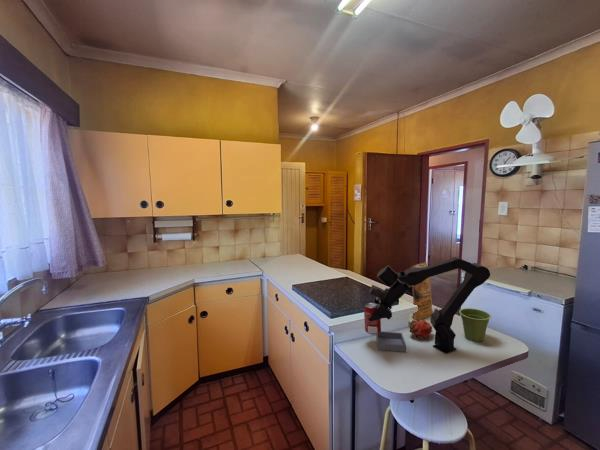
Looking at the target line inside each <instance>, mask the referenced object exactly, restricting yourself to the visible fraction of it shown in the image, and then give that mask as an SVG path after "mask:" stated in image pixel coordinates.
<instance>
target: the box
mask: <svg viewBox="0 0 600 450" xmlns="http://www.w3.org/2000/svg"><path fill="white" fill-rule="evenodd" d="M375 337H376V346H377V351H378V352H390V353H391V352H392V353H404V354H406V353H407V344H406V341H405V338H404V335H403V333H402V332H392V331H381V332H380V333H379V334H376V335H375Z"/></svg>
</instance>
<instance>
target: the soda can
mask: <svg viewBox="0 0 600 450" xmlns="http://www.w3.org/2000/svg"><path fill="white" fill-rule="evenodd" d="M377 305H378V304H375V303H374V302H368V303H366V304H365V306H364V309H363V314H364V331H365V332H366V333H367V334H369V335H372V336H376V334H379V333H380V332H382V328H381V327H382V324H381V323H382V321H381V320H382V319H378V320H375V321H371V322H370V321H369V318H370V317H371V316H372V314H373V313H374V312H375V310H376V306H377Z"/></svg>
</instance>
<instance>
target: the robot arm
mask: <svg viewBox="0 0 600 450" xmlns="http://www.w3.org/2000/svg"><path fill="white" fill-rule="evenodd" d="M457 269H459V270H461V271H463V272H465V273H464V276H463V280H462V282H461V284H460V285H459V286H458V287H457V288H456V290H455V291H454V292H453V294H452V295H451V297H450V298H449V299H448V301H447V302H446V303H445V305H444V306H443V307H442V308H441V309H438V308H434V311H433V314H431V315H430V316H429V317H430V319H429V321H430V322H429V323H430V325H431V326H432V328H433V329H434V330H435V333H434V344H433V345H432V347H433V348H435V349H436V350H437V351H440V352H441V353H444V354H446V355H447V354H450V353H452V352H455V351H457V348H456V347H455V338H456V336H457V334H456V333H455V331H454V330H453V329H452V328H451V327H452V324H453V320H454V317H455V315H456V314H457V312H458V311H460V308H461V307H462V306H463V305H464V303H465V302H466V301H467V299H468V298H469V296H471V294H472V292H473V291H475V289H476V288H478V287H480V286H482V285H483V284H484V283H485V282H486V281H487V280H489V278H490V277H491V272H490V270H489V269H488V267H486V266H485V265H483V264H480V263H477V262H474V263H473V262H472V263H471V262H469V261H467V260H464V259H463V258H460V257H458V256H453V257H451V258H448V259H446V260H443V261H440V262H435V263H433V264H430V265H427V266H426V267H422V268H411V267H410V268H407V269H405V270H403V271H395V270H393V269H392V268H391V266H390V265H389V264H388V265H387V266H385V267H383V268H381V269H380V270H379V271H378V272H377V275H376V277H377V278H378V279H379V281H380V280H381V282H382V283H384V284H385V286H390V287H389V288H387V287H386V288H385V289H384V288H381V287H379V286H377V285H374V284H372V285H371V286H370V289H369V290H368V291H369V295H370V296H372V297H373V299H374V301H373V303H375V304H378V305H377V306H376V310H375V312H374V313H373V314H372V316H371V317H370V318H369V321H370V322H371V321H375V320H378V319H381V320H382V319H387V320H390V319H392V317H393V312H392V309H393V305H395V304H396V303H399V302H400V301H399V300H400V299H401V298H402V297H403V296H404V295H405V294H406V293H407V292H409V293H410V294H411V295H413V287H412V286H415V285H417V284H419V283H421V282H423V281H424V280H426V279H427V278H429V277H430V278H431V277H435V276H437V275H442V274H444V273H447V272H452V271H454V270H457Z"/></svg>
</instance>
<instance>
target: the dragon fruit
mask: <svg viewBox="0 0 600 450" xmlns="http://www.w3.org/2000/svg"><path fill="white" fill-rule="evenodd" d="M432 332H433V326H432V324H431V322H427V321H426V320H425V319H421V320H414V319H413V320H411V322H410V324H409V333H410V334H411V335H412V337H416V338H420V339H423V340H424V339H426V338H429V336H430V335H431V334H432Z"/></svg>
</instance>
